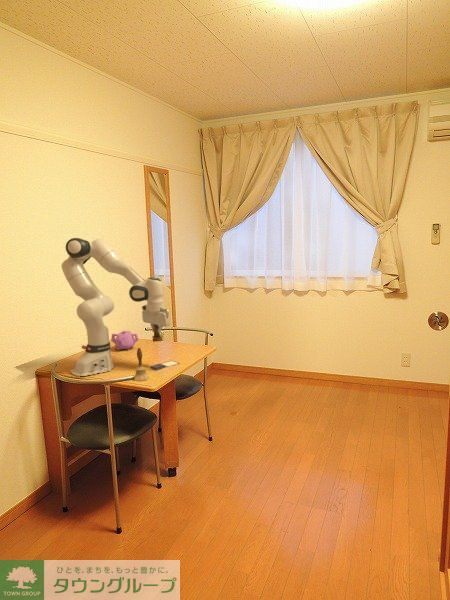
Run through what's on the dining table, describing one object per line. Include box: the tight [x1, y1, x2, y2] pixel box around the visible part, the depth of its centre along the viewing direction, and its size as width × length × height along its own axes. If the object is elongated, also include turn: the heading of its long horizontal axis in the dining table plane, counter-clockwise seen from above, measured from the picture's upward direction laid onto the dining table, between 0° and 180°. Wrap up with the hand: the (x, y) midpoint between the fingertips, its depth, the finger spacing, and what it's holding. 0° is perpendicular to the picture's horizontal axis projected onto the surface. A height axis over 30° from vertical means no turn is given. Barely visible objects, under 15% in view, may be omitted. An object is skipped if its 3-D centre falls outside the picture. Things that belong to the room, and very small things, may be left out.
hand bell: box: [133, 347, 150, 382], centre depth 206 cm, size 8×8×16 cm
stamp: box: [152, 324, 163, 342], centre depth 224 cm, size 5×4×9 cm
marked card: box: [160, 360, 181, 368], centre depth 229 cm, size 8×8×1 cm
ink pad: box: [149, 363, 167, 371], centre depth 223 cm, size 6×5×1 cm
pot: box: [110, 330, 139, 351], centre depth 262 cm, size 18×17×12 cm
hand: (156, 332), depth 224 cm, fingers closed on stamp, 3 cm apart
